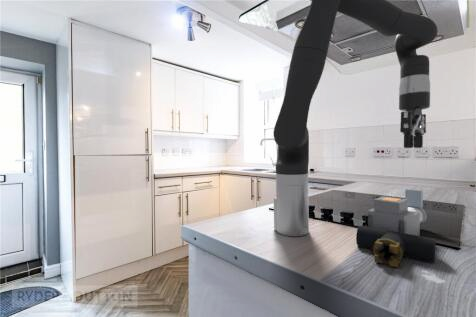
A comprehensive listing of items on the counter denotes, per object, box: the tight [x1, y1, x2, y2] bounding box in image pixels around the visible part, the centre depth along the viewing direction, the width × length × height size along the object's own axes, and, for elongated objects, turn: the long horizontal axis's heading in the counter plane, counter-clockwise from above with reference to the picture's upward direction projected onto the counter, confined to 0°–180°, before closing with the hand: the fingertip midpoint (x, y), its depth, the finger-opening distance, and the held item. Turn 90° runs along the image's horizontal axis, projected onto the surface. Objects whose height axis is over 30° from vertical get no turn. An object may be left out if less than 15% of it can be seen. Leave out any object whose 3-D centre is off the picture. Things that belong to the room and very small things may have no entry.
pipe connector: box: [355, 225, 436, 268], centre depth 56 cm, size 12×5×15 cm
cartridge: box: [404, 188, 427, 225], centre depth 72 cm, size 6×12×11 cm, turn 129°
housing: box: [367, 195, 421, 236], centre depth 66 cm, size 8×12×11 cm
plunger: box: [380, 196, 402, 202], centre depth 64 cm, size 4×4×3 cm
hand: (413, 147), depth 75 cm, fingers open, 8 cm apart
